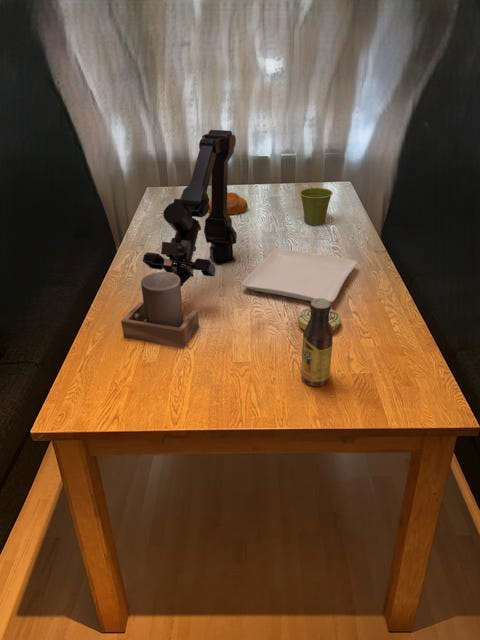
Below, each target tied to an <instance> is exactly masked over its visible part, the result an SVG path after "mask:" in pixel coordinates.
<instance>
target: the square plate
mask: <svg viewBox="0 0 480 640" xmlns="http://www.w3.org/2000/svg"><path fill="white" fill-rule="evenodd" d="M358 263H359V261H358V260H356V259H352V258H343V257H339V256H334V255H329V254H322V253H321V254H319V253H313V252H307V251H303V250H300V251H299V250H295V249H294V250H293V249H287V248H286V249H285V248H274V249H273V250H272V251H271V252H270V253H268V255H267V256H266V257H265V258H264V259H263V260H262V261H261V262H260V264H258V265H257V266H256V267H255V268H254V269H253V270H252V271H251V272H250V274H249V275H247V276H246V278H245V279H243V280H242V282H241V286H243V287H244V288H246V289H248V290H251V291H255V292H261V293H263V294H264V293H265V294H270V295H271V294H272V295H278V296H283V297H288V298H293V299H294V298H295V299H297V300H298V299H299V300H303V301H308V302H311V301H312V300H314V299H317V298H323V299H327V300H328V301H329V302H330V303H331V304H332V303H333V302H335V301H336V299H337V297H338V295H339V292H340V291H341V289H342V287H343V285H344V283H345V281H346V279H347V278H348V277H349V275H350V274H351V272H352V271H353V270H354V268H355V267H356V266H357V265H358Z"/></svg>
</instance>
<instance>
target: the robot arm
mask: <svg viewBox="0 0 480 640" xmlns="http://www.w3.org/2000/svg"><path fill="white" fill-rule="evenodd" d="M236 140H237V138H236V135H235V134H233V131H232V130H223V129H220V130H219V129H210V130H208V133H205V134H203V135H201V139H200V140H199V143H198V148H199V149H198V154H197V157H196V161H195V164H194V167H193V168H194V169H193V172H192V175H191V179H190V182H189V184H188V186H186V187H185V188H184V189H183V191H182V193H181V196H180V198H174V199H173V202H171V203H169V204H168V205H167V206H166V207H165V209H163V213H162V216H163V218H164V221H166V222H167V224H168V225H169V226H170V227H171V228H172V229H173V230H174V231H175V235H174V237H171V240H170V242H168V241H161V250H160V251H161V252H160V253H158V252H157V253H155V252H149V251H147V252H146V253H144V255H143V258H142V263H144V265H146V266H147V267H148V268H149V269H152V270H160V271H162V270H164V272H169V273H170V272H171V273H174V274H176V275H177V276H179V278H180V285H181V287H182V286H183V285H184V284H185V283H186V282H187V281H188V280H189V279H190V278H194V276H195V274H194V271H195V270H196V271H201V274H202V275H203V276H204V277H215V276H216V271H217V270H216V266H215V264H216V265H218V266H219V265H223V264H226V263H227V264H228V263H231V262H236V258H235V257H234V247H233V246H234V244H237V238H238V237H237V231H236V229H234V227H233V219H232V218H231V216H230V214H228V213H227V193H228V181H229V180H228V178H229V177H228V175H229V172H228V171H229V169H228V168H229V161H230V159H231V158H232V156H233V154H234V152H235V146H236V142H237V141H236ZM210 180H211V200H210V198H209V195H208V193H207V192H208V188H209V184H210ZM210 201H211V213H210V212H209V208H210V206H209V203H210ZM208 213H209V215H208ZM206 215H208V216H207V217H206ZM194 217H195V218H194ZM203 217H206V218H205V220H204V227H203V228H204V229H203V232H204V238H205V241H206V244H210V246H209V259H205V258H198V257H197V258H196V259H195V260H194V261H193V256H194V252H196V250H197V247H196V243H197V239H198V235H199V231H202V227H201V225H200V221H199V220H198V219H196V218H203ZM162 255H165V257H166V258H164V257H163V256H162ZM210 259H211V260H212V261H211V260H210ZM213 262H214V263H215V264H214V263H213Z"/></svg>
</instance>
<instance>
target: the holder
mask: <svg viewBox="0 0 480 640" xmlns="http://www.w3.org/2000/svg"><path fill="white" fill-rule="evenodd" d="M183 321H184V322H183V324H182V325H181V327H180V328H178V327H172V326H166V325H159V324H153V323H147V322H146V317H145V310H144V303H143V302H142V301H139V302H138V303H137V304H136V305H134V307H133V308H132V309H131V310H130V311H129V312H128V313H127V314H126V315H125V316H124V318H122V319H121V320H120V322H121V323H120V324H121V330H122V334H123V338H124V339H128V340H133V341H140V342H143V343H144V342H146V343H151V344H157V345H163V346H168V347H173V348H180V349H185V348H186V346H187V345H188V343H189V342H190V341H191V340H192V338H193V337H194V335H195V334H196V332H197V331H198V330H199V328H200V323H199V322H200V321H199V311H198V310H195V309H193V310H192V311H191V312H190V314H189V315H188V316H187V318H186V319H185V320H183Z"/></svg>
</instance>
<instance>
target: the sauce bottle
mask: <svg viewBox="0 0 480 640" xmlns="http://www.w3.org/2000/svg"><path fill="white" fill-rule="evenodd" d="M331 304H332V302H331V303H330V302H329V301H328V300H327V299H323V298H317V299H314V300H312V301H310V306H309V308H310V309H311V316H310V320H309V322H308V325H307V327H306V329H305V331H304V330H303V334H302V347H301V366H300V368H301V369H300V374H301V379H302V382H304V383H305V384H306V385H308V386H312V387H320V386H324V385H325V384H327V383H328V381H329V377H330V373H331V366H332V365H331V363H332V354H333V353H332V352H333V341H334V340H333V338H334V337H333V336H334V332H333V329H332V327H331V325H330V324H329V311H330V309H332V308H331V306H332V305H331Z"/></svg>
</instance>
